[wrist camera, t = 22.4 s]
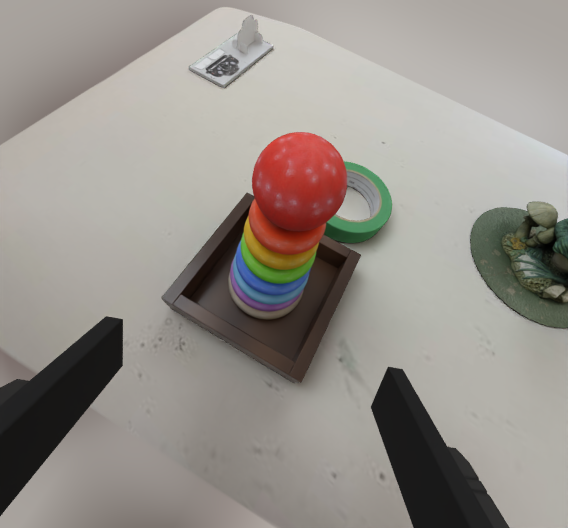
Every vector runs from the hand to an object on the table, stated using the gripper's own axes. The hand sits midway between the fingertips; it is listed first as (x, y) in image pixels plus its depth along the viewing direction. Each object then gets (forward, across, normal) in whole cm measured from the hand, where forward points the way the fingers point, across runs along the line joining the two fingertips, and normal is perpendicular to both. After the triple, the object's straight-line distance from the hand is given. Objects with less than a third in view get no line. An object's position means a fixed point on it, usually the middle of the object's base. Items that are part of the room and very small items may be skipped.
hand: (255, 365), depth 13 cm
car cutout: (+44, -13, +24) cm, 52 cm away
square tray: (+16, 0, -3) cm, 17 cm away
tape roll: (+26, +8, +6) cm, 27 cm away
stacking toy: (+16, 0, -3) cm, 16 cm away
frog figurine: (+24, +35, +4) cm, 43 cm away
